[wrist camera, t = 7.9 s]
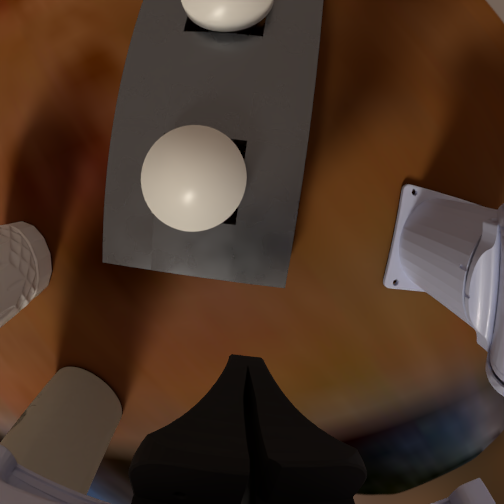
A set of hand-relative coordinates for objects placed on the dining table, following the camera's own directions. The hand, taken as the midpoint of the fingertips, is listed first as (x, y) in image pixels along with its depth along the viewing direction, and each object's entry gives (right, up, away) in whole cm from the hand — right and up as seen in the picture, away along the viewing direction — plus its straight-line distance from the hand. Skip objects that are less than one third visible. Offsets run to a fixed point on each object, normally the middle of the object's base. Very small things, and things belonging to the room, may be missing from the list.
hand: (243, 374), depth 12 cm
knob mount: (-2, +16, +7) cm, 17 cm away
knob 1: (-1, +22, +5) cm, 22 cm away
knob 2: (-3, +10, +8) cm, 13 cm away
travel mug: (-16, -9, +13) cm, 23 cm away
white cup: (-20, +5, +10) cm, 22 cm away
